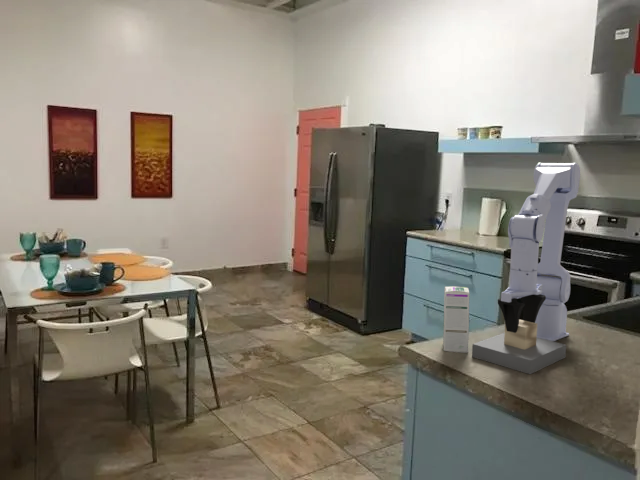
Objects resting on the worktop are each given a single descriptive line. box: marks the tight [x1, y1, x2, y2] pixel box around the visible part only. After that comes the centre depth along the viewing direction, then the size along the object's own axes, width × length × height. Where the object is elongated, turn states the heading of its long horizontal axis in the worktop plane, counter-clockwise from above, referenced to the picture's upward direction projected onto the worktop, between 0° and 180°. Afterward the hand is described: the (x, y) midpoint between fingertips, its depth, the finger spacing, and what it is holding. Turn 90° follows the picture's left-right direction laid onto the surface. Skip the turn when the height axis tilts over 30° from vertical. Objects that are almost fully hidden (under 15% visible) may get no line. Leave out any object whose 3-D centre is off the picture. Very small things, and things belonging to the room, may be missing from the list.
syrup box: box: [442, 285, 470, 354], centre depth 130 cm, size 6×6×14 cm
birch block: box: [504, 318, 537, 350], centre depth 125 cm, size 5×5×5 cm
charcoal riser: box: [471, 332, 567, 375], centre depth 125 cm, size 16×14×3 cm
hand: (520, 328), depth 125 cm, fingers open, 7 cm apart
